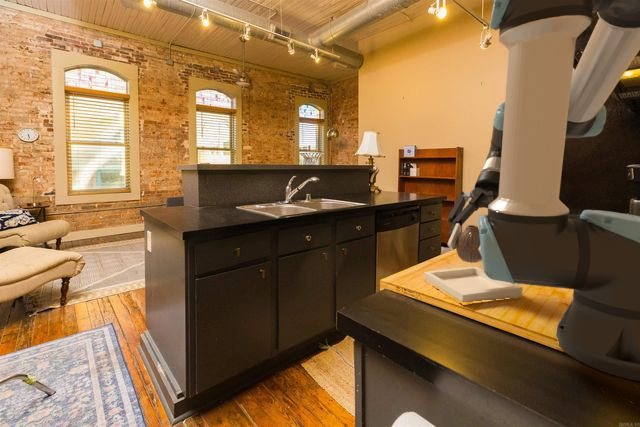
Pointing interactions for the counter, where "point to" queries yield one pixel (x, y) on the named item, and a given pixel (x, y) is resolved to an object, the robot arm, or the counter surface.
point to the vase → (469, 245)
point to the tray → (472, 284)
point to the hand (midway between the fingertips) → (465, 249)
